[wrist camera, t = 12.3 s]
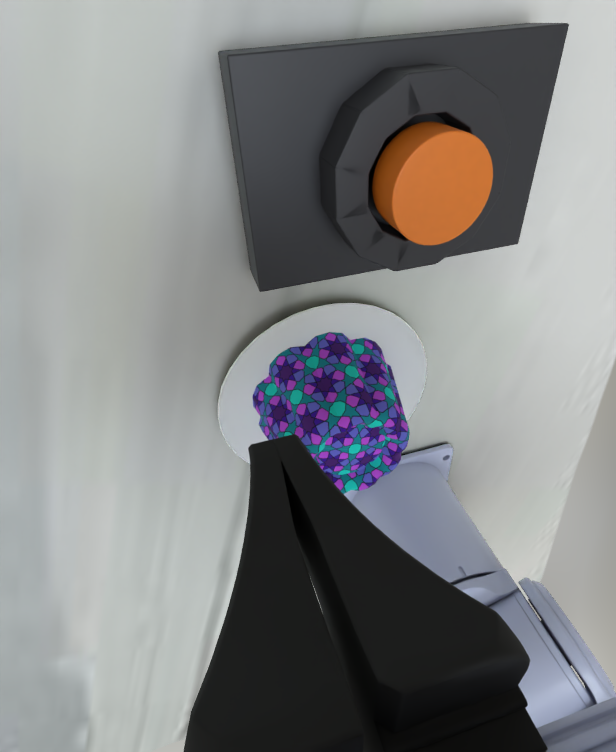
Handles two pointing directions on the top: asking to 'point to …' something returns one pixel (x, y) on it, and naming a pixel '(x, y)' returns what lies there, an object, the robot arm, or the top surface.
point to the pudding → (329, 390)
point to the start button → (432, 182)
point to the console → (378, 140)
